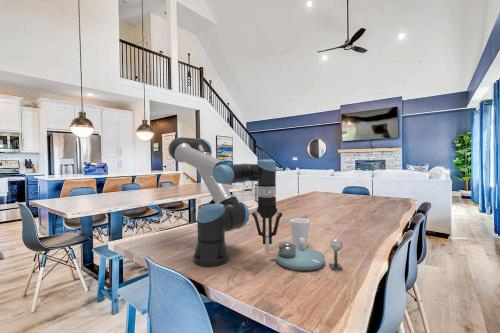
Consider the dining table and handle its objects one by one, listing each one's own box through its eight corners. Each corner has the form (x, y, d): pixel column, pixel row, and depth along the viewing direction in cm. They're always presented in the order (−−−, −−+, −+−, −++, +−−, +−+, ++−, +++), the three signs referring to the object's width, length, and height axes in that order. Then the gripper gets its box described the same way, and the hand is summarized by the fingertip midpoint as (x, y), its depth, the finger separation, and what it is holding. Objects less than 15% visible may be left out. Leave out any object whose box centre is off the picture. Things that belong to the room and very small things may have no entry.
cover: (279, 258, 106) (279, 246, 106) (278, 252, 113) (278, 240, 113) (296, 258, 106) (296, 246, 105) (294, 252, 113) (294, 240, 112)
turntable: (278, 270, 99) (278, 252, 99) (274, 251, 119) (274, 236, 119) (331, 270, 99) (331, 252, 99) (318, 251, 119) (318, 236, 119)
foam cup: (286, 244, 131) (286, 219, 130) (302, 242, 134) (302, 217, 134) (296, 251, 122) (296, 223, 122) (313, 248, 125) (313, 221, 125)
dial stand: (331, 270, 101) (331, 240, 100) (328, 265, 105) (328, 237, 104) (342, 270, 101) (343, 240, 100) (339, 266, 105) (339, 237, 104)
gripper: (251, 197, 105) (251, 254, 106) (283, 197, 105) (283, 255, 105) (251, 194, 112) (252, 248, 113) (281, 194, 112) (281, 248, 113)
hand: (267, 251), depth 109 cm, fingers closed
